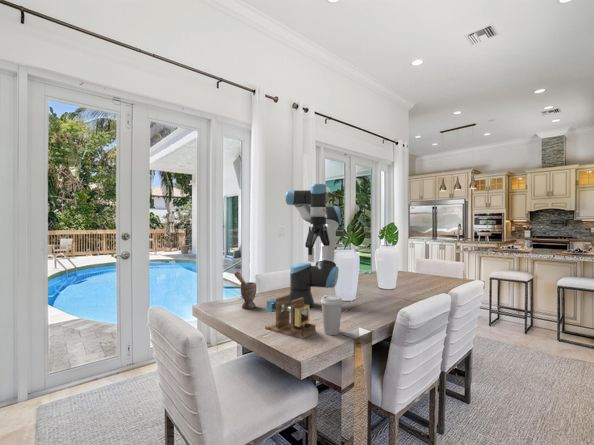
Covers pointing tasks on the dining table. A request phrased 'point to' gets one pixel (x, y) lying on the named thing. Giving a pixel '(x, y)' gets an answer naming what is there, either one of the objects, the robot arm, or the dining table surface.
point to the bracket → (283, 319)
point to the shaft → (272, 307)
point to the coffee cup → (331, 313)
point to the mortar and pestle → (247, 292)
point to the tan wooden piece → (298, 315)
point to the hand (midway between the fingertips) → (318, 260)
